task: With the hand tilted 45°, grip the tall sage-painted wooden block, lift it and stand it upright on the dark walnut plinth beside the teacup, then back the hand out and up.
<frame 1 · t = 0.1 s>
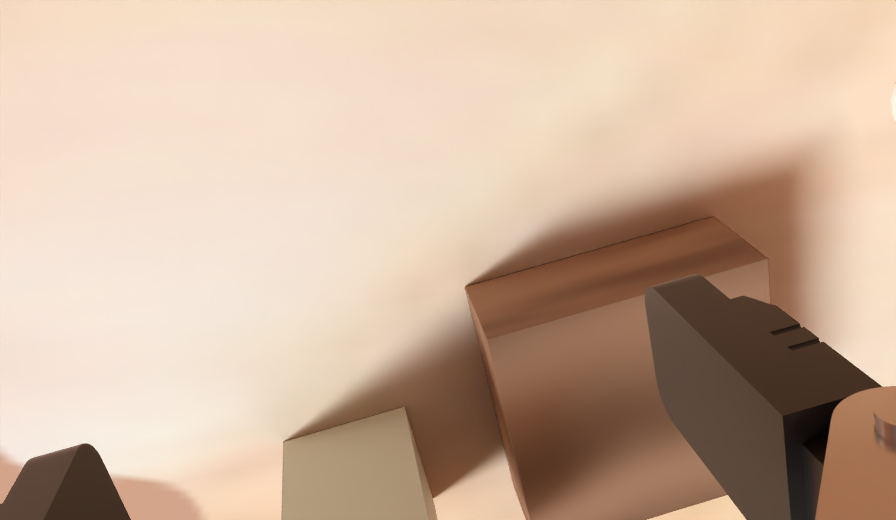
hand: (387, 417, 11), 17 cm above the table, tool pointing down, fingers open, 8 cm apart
walnut plinth: (607, 358, 33), on the table
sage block: (360, 471, 33), on the table
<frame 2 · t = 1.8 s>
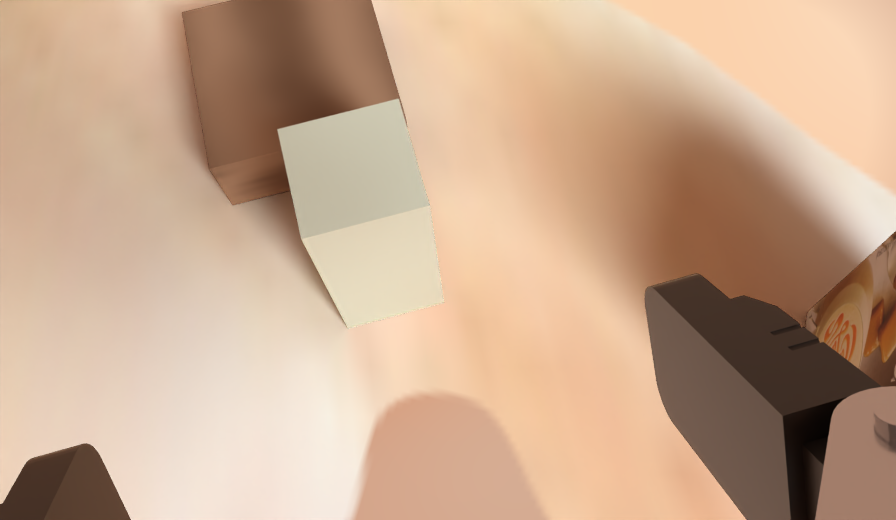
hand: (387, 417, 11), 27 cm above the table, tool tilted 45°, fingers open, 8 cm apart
walnut plinth: (305, 106, 45), on the table
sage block: (384, 271, 41), on the table
coffee box: (861, 409, 38), on the table
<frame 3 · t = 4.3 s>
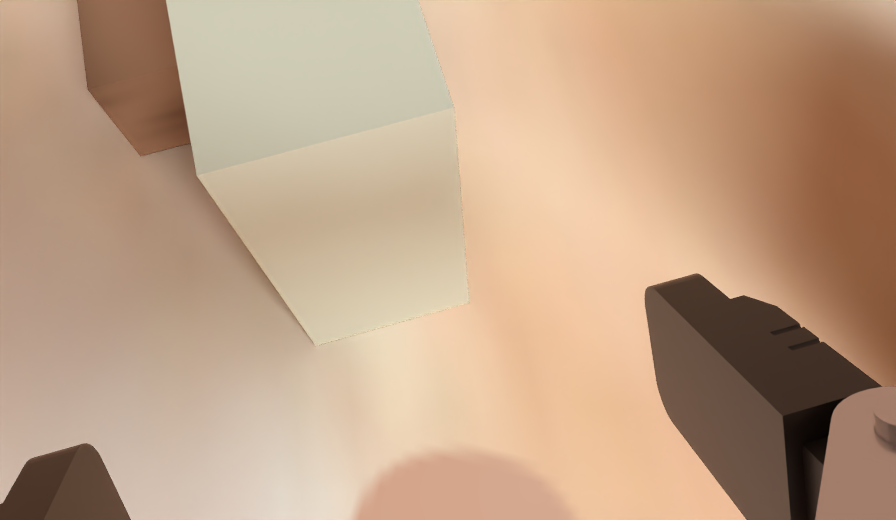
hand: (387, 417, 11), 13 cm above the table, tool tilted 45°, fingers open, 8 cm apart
walnut plinth: (255, 11, 30), on the table
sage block: (374, 254, 26), on the table
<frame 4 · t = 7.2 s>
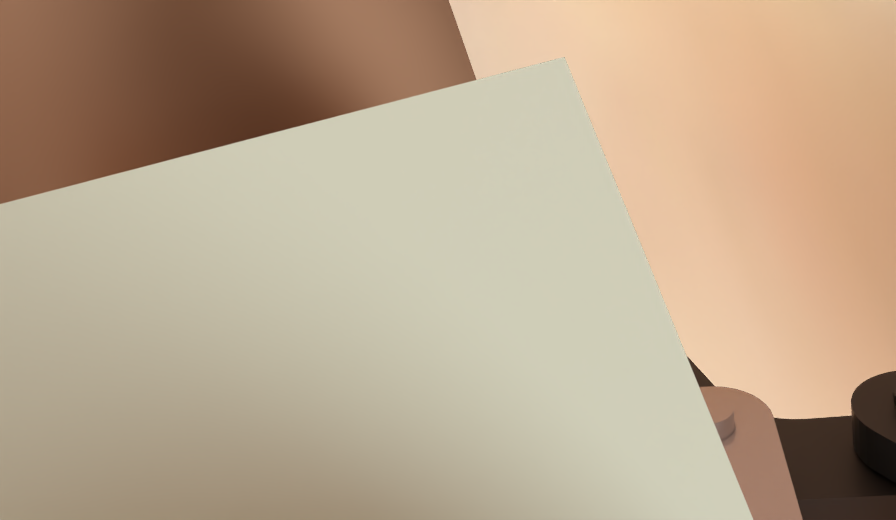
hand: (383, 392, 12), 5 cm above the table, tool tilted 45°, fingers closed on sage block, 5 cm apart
walnut plinth: (243, 109, 20), on the table
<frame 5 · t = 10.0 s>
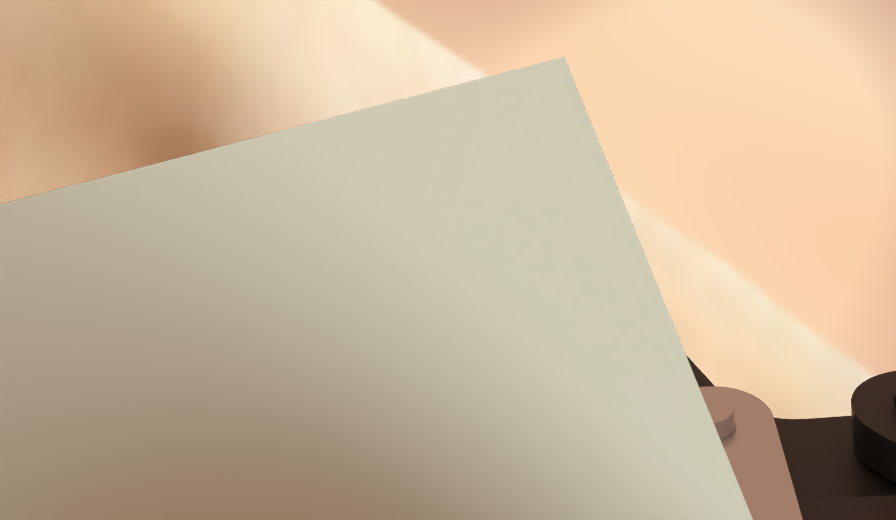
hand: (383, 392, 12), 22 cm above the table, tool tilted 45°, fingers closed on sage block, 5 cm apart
when the fingers open (10 cm above the table, at t = 13.3 s): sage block drops 1 cm, resting on walnut plinth.
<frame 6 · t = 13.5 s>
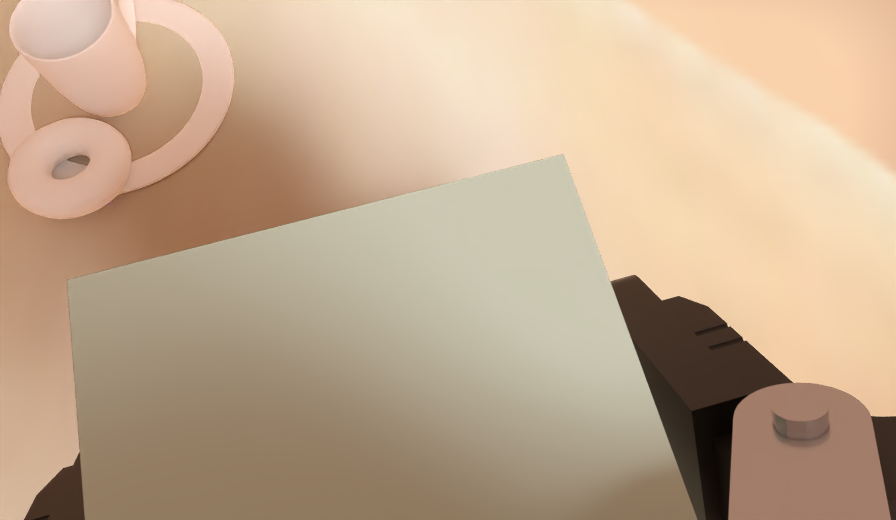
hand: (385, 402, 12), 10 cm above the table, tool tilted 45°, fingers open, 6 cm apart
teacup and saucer: (36, 128, 27), on the table
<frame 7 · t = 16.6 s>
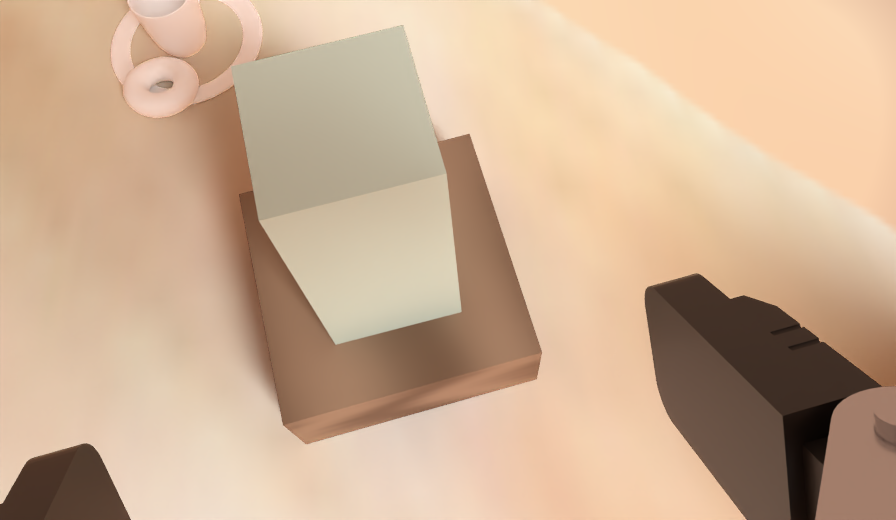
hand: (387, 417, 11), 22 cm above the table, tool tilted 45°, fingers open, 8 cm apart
walnut plinth: (394, 303, 36), on the table
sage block: (384, 270, 32), point 4 cm above the table, touching walnut plinth
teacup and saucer: (134, 66, 42), on the table
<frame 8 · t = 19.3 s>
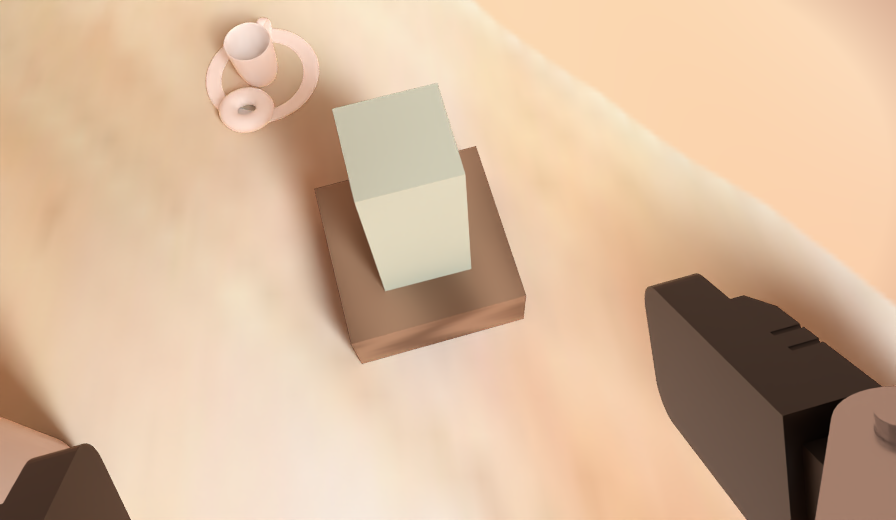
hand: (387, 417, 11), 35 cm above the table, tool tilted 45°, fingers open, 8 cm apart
walnut plinth: (422, 266, 50), on the table
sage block: (417, 241, 46), point 4 cm above the table, touching walnut plinth
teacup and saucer: (222, 93, 57), on the table
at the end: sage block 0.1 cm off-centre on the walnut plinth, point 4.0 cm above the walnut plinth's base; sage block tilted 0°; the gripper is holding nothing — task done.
